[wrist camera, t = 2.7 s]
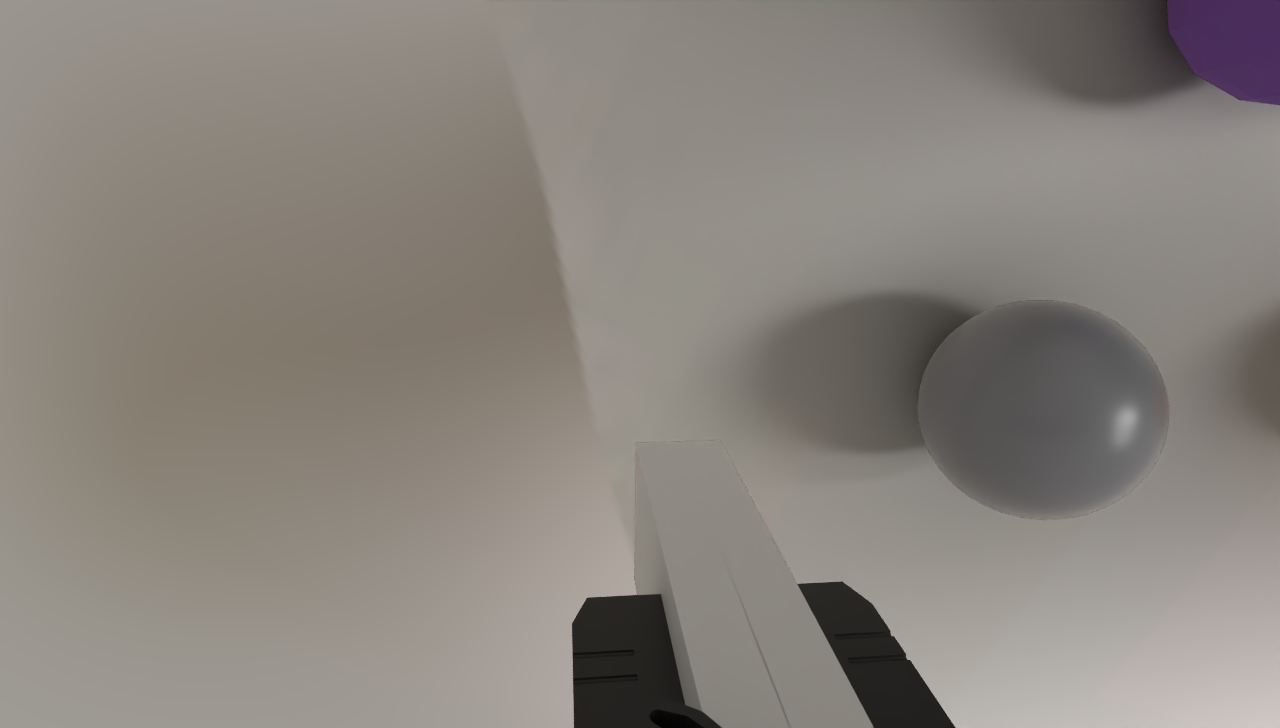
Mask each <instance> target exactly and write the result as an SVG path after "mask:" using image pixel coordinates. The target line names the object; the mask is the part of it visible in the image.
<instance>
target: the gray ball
mask: <svg viewBox="0 0 1280 728" xmlns="http://www.w3.org/2000/svg"><path fill="white" fill-rule="evenodd" d="M918 417H919V425H920V428H921V432H922V436H923V439H924V442H925V444H926V447H927V449H928V451H929V453H930V455H931V456H932V458H933V460H934V461H935V463H936V464H937V466H938V468H939V469H940V470H941V471H942V472H943V473H944V475H945V476H946V477H947V478H948V479H949V480H950V481H951V482H952V483H953V484H954V485H955V486H956V487H957V488H959V489H960V490H961V491H962V492H964V493H965V494H966V495H968V496H969V497H971V498H972V499H974V500H976V501H977V502H979V503H981V504H983V505H985V506H987V507H989V508H992V509H994V510H997V511H999V512H1002V513H1006V514H1009V515H1013V516H1017V517H1021V518H1030V519H1040V520H1057V519H1065V518H1072V517H1078V516H1082V515H1086V514H1089V513H1092V512H1094V511H1097V510H1099V509H1102V508H1104V507H1106V506H1108V505H1110V504H1112V503H1114V502H1116V501H1118V500H1119V499H1121V498H1122V497H1124V496H1125V495H1127V494H1128V493H1129V492H1130V491H1132V490H1133V489H1134V488H1135V487H1136V486H1137V485H1138V484H1139V483H1140V482H1141V481H1142V480H1143V479H1144V478H1145V476H1146V475H1147V474H1148V473H1149V471H1150V470H1151V469H1152V467H1153V466H1154V464H1155V462H1156V461H1157V459H1158V457H1159V455H1160V453H1161V450H1162V448H1163V445H1164V443H1165V439H1166V435H1167V429H1168V421H1169V403H1168V396H1167V392H1166V388H1165V385H1164V382H1163V378H1162V375H1161V373H1160V371H1159V369H1158V367H1157V365H1156V364H1155V362H1154V360H1153V358H1152V357H1151V356H1150V354H1149V353H1148V351H1147V350H1146V349H1145V347H1144V346H1143V345H1142V344H1141V343H1140V342H1139V341H1138V340H1137V339H1136V338H1135V337H1134V336H1133V335H1132V334H1131V333H1130V332H1129V331H1127V330H1126V329H1125V328H1123V327H1122V326H1120V325H1119V324H1118V323H1116V322H1115V321H1113V320H1112V319H1110V318H1108V317H1106V316H1104V315H1102V314H1100V313H1098V312H1096V311H1093V310H1091V309H1088V308H1085V307H1082V306H1079V305H1075V304H1071V303H1066V302H1060V301H1053V300H1027V301H1019V302H1013V303H1009V304H1005V305H1001V306H997V307H994V308H992V309H989V310H986V311H984V312H982V313H980V314H978V315H976V316H974V317H972V318H971V319H969V320H967V321H966V322H964V323H963V324H961V325H960V326H958V327H957V328H956V329H955V330H954V331H953V332H952V333H950V334H949V335H948V336H947V337H946V339H945V340H944V341H943V342H942V343H941V344H940V345H939V347H938V348H937V349H936V351H935V352H934V354H933V355H932V357H931V359H930V361H929V362H928V364H927V367H926V369H925V371H924V374H923V377H922V380H921V384H920V389H919V395H918Z"/></svg>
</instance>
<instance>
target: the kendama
mask: <svg viewBox="0 0 1280 728" xmlns="http://www.w3.org/2000/svg"><path fill="white" fill-rule="evenodd" d="M1167 11H1168V31H1169V33H1170V35H1171V37H1172V38H1173V40H1174V42H1175V43H1176V45H1177V46H1178V48H1179V50H1180V51H1181V53H1182V55H1183V56H1184V58H1185V59H1186V61H1187V63H1188V64H1189V66H1190V68H1191V69H1192V71H1193V73H1194V74H1196V75H1197V76H1199V77H1201V78H1203V79H1204V80H1206V81H1208V82H1210V83H1211V84H1213V85H1215V86H1216V87H1218V88H1220V89H1222V90H1223V91H1225V92H1227V93H1229V94H1230V95H1232V96H1234V97H1235V98H1237V99H1239V100H1244V101H1252V102H1260V103H1268V104H1276V105H1280V0H1167Z"/></svg>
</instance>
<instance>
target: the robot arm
mask: <svg viewBox="0 0 1280 728" xmlns="http://www.w3.org/2000/svg"><path fill="white" fill-rule="evenodd" d="M634 579H635V585H636V590H637V595H632V596H612V597H594V598H587V599H586V601H585V602H584V604H583V606H582V608H581V609H580V611H579V613H578V614H577V616H576V618H575V620H574V621H573V623H572V637H573V638H572V639H573V640H572V641H573V691H574V692H573V694H574V728H955V726H954V725H953V723H952V722H951V720H950V719H949V717H948V716H947V714H946V713H945V711H944V710H943V709H942V707H941V706H940V704H939V703H938V701H937V700H936V698H935V697H934V695H933V694H932V692H931V691H930V689H929V688H928V686H927V685H926V683H925V682H924V680H923V679H922V677H921V676H920V674H919V673H918V671H917V670H916V668H915V667H914V665H913V664H912V662H911V661H910V660H907V659H906V653H905V652H904V651H903V649H902V648H901V646H900V645H899V643H898V642H897V640H896V639H895V637H894V636H893V637H891V634H890V630H889V628H888V627H887V625H886V624H885V622H884V621H883V619H882V618H881V616H880V615H879V613H878V612H877V610H876V609H875V607H874V606H873V604H872V603H870V602H869V601H868V600H866V599H865V598H864V597H862V596H861V595H860V594H858V593H857V592H856V591H854V590H853V589H851V588H850V587H849V586H847V585H846V584H845V583H843V582H826V583H807V584H797V583H796V581H795V579H794V577H793V575H792V573H791V571H790V570H789V568H788V566H787V564H786V562H785V560H784V558H783V556H782V555H781V553H780V551H779V549H778V547H777V545H776V543H775V541H774V540H773V538H772V536H771V534H770V532H769V530H768V528H767V526H766V525H765V523H764V521H763V519H762V517H761V515H760V513H759V511H758V510H757V508H756V506H755V504H754V502H753V500H752V498H751V496H750V495H749V493H748V491H747V489H746V487H745V485H744V483H743V481H742V480H741V478H740V476H739V474H738V472H737V470H736V468H735V466H734V465H733V463H732V461H731V459H730V457H729V455H728V453H727V451H726V450H725V448H724V446H723V444H722V442H721V440H709V441H677V442H645V443H636V474H635V568H634Z"/></svg>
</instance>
